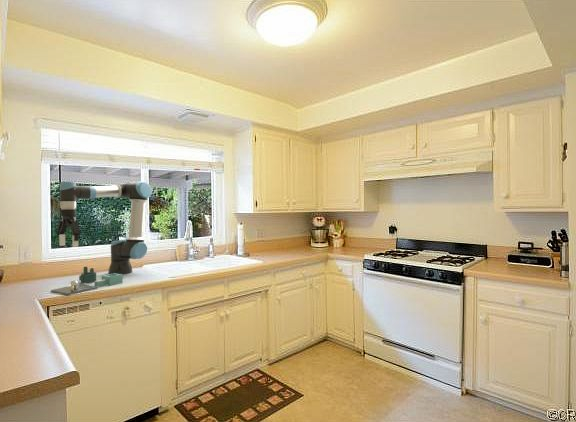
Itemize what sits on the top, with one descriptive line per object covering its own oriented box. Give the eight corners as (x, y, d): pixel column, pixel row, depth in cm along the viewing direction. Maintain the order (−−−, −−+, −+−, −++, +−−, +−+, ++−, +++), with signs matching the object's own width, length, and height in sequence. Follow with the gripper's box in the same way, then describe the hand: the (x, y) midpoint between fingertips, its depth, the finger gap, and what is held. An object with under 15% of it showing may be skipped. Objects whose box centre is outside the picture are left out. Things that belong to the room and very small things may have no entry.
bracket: (85, 280, 204) (84, 266, 204) (99, 280, 205) (99, 266, 205) (76, 283, 195) (76, 269, 195) (91, 283, 196) (91, 268, 196)
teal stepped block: (114, 281, 200) (114, 273, 200) (122, 282, 197) (122, 274, 197) (91, 286, 188) (91, 277, 188) (99, 287, 184) (99, 278, 184)
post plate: (81, 285, 190) (81, 277, 190) (97, 288, 182) (97, 279, 182) (50, 291, 175) (50, 282, 175) (67, 295, 168) (67, 285, 168)
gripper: (49, 209, 186) (50, 245, 186) (73, 208, 174) (73, 248, 174) (63, 209, 192) (64, 244, 192) (87, 208, 180) (88, 246, 180)
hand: (68, 246), depth 183 cm, fingers open, 13 cm apart
